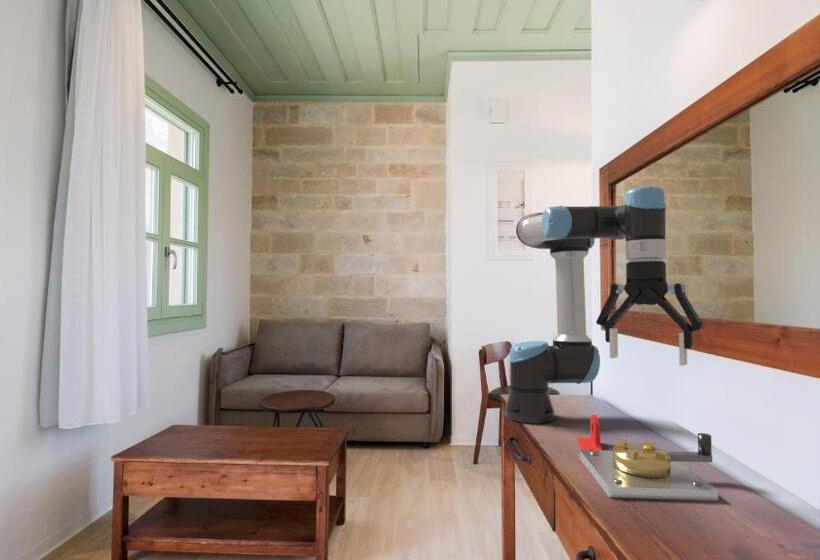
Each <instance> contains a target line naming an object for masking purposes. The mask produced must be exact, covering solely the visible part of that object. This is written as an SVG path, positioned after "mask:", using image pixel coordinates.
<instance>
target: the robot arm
mask: <svg viewBox="0 0 820 560" xmlns="http://www.w3.org/2000/svg"><path fill="white" fill-rule="evenodd" d="M624 197H625V198H624V204H623V205H602V206H601V205H599V206H597V205H596V206H595V205H594V206H591V205H590V206H589V205H588V206H563V205H557V206H549V207H547V208H545V209H544V211H543V212H537V213H536V212H534V213H530V214H526V215H524V216H523V217H521V218H520V220H519V221H518V222H517V225H516V228H515V234H516V236H517V237H516V238H517V239H518V240H519V242H520V243H522V244H523V245H524V246H527V247H529V248H531V249H539V250H549V255H550V256H551V258H552V259H554V260H555V261H554V262H555V266H554V267H555V293H556V294H555V295H556V297H555V298H556V322H557V323H556V327H557V328H556V329H557V335H556V336H554V338H553V339H552V345H549V343H548V342H547V341H544V340H532V341H524V342H519V343H516V344H513V345H512V346H511V348H510V351H509V383H510V384H509V395H508V397H507V401H506V403H505V406H504V407H505V408H504V417H505V418H506V419H508V420H511V421H514V422H517V423H518V422H519V423H523V424H546V423H550V422H552V421H553V422H554V420H555V417H556V416H555V415H556V413H555V408H554V405H553V403H552V400H551V397H550V393H549V384H577V385H579V384H580V385H581V384H588V383H591V382H593V381H594V380H595V379H596V377H597V376H598V374H599V372H600V368H601V367H600V365H601V356H600V353H599V352H600V351H599V349H598V347H597V346H595V345H594V344H592V343H593V342H592V339H591V338H590V337H589V336H588V335H587V317H586V316H587V315H586V293H585V292H586V288H585V287H586V285H585V266H584V265H585V264H584V263H585V262H584V261H585V260H584V259H585V258H586V257H587V256H588V255H589V250H590V249H592V248H593V247H594V245H595V242H596V241H595V240H596V239H608V240H625V257H626V260H628V261H629V262H627V263H626V264H625V269H626V270H625V274H626V275H625V279H626V283H625V284H619V283H612V284H611V285H610V292H609V294H608V295H609V296H608V297H607V299H606V301H605V303H604V305H603V307H602V309H601V311H600V313H599V315H598V317H597V319H596V324H597V325H599V326H602V327H604V330H605V333H604V334H605V337H604V338H605V342H606V343H609V359H615V358H619V350H618V349H619V343H618V341H619V335H618V333H619V332H618V330H619V328H618V327H615V325H616V324H617V323H618V322H620V320H621V319H622V318H623V316H624V315H625V314H626V313H627V312H628V311H629V310H630V309H631V308H632V307H633V306H634V305H638V306H639V305H648V306H654V305H655V306H656V305H658V306H659V307H660V308H662V310H663V311H664V312H665V313H666V314H667V315H668V316H669V317H670V319H672V320H673V321H674V323H676V325H677V326H678V327H679V328H680V329H681V330H682V331H681V332H678V353H679V359H678V360H679V361H678V362H679V366H682V367H684V366H686V365H688V350H691V349H692V348H693V346H694V343H693V342H694V341H693V337H694V336H693V333H694V332H696V331H700V330H702V329H703V328H704V323H703V322H702V321H701V319H700V317H699V315H698V314H697V312H696V310H695V309H694V307H693V305H692V304H691V302H690V300H689V298H688V296H687V295H686V291H685V285H684V284H683V283H681V282H680V283H678V282H677V283H675V284H668V283H667V263H666V262H665V261H663V260H664V259H666V258H667V253H666V252H667V251H666V250H667V249H666V247H667V246H666V244H667V243H666V207H667V205H666V201H665V199H666V198H665V190H664V189H663V188H662V187H659V186H641V187H635V188H631V189H629V190H627V191H626V193H625V196H624ZM624 291H625V292H624ZM669 291H670V292H671V294H672V295H675V298H676V300H677V301H678V303H679V305H680V307H681V308H682V310H683V312H684V313H685V315H686V317H687V318H688V320H686V319H685V318H684V317H683V316H682V314H680V312H679V311H678V310H677V309H676V308H675V307H674V306H673V305H672V304H671V302H670V301H669V300H668V299H667V297H665V296H666V295H667V293H668V292H669ZM623 292H624V293H626V294H627V297H626V298H625V299H624V300H623V303H622V304H621V305H620V306H619V307H618V308H617V309H616V311H615V312H614V313H613V314H612V315H611V316H610V314H611V313H612V311H613V309H614V306H615V305H616V303H617V301H618V299H619V297H620V295H622V294H623ZM688 321H689V322H690V323H691V324H690V323H689V322H688Z"/></svg>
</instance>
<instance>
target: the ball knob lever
mask: <svg viewBox="0 0 820 560" xmlns="http://www.w3.org/2000/svg"><path fill="white" fill-rule="evenodd" d="M712 448H713V447H712V435H711V434H708V433H704V432H699V433H697V451H665V450H663V449H661V448H658V447H656V441H652V440H650V439H649V440H646V441H644V442H643V444H642V443H641V444H640V443H628V442H627V441H625V440H621V439H616V440H615V441H614V446H613V448H612V451H613V464H614V466H615V467H617V468H618V469H620V470H622V471H624V472H627V473H630V474H634V475H638V476H644V477H663V476H667V475H669V474H670V473H671V461H679V462H681V463H683V462H684V463H686V462H689V463H713V454H712V452H713V451H712V450H713V449H712Z"/></svg>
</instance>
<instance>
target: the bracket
mask: <svg viewBox="0 0 820 560" xmlns="http://www.w3.org/2000/svg"><path fill="white" fill-rule="evenodd" d="M599 419H600V418H599V417H598V415H596V414H591V415H590V422H589V423H590V437H588V436H587V437H586V436H585V437H584V436H583V437H582V436H576V442H577V443H578V446H579V448H580V450H603V449H602V446H601V427H600V420H599Z"/></svg>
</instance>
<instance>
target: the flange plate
mask: <svg viewBox="0 0 820 560" xmlns="http://www.w3.org/2000/svg"><path fill="white" fill-rule="evenodd" d="M579 459H580V460H581V462H582V463H583V464H584V466H585V467H586V469H587V470H588V471H589V472H590V473H592V474H591V475H592V477H593V478H594V479H595V480H596V481H597V483H598V484H599V486H600V487H601V489H602V490H603V492H605V494H606V496H607V497H608V498H617V499H618V498H619V499H623V498H624V499H647V500H648V499H649V500H650V499H651V500H675V501H676V500H679V501H680V500H681V501H710V502H712V501H713V502H714V501H715V502H719V490H718V489H717V488H716V487H715V486H713V485H712V484H711V483H709V482H708V481H707V480H705V479H704V478H702V477H701V476H700V475H699V474H697V473H696V472H694V471H693V470H692V469H691V468H689V467H688V466H687V465H685V464H684V463H683V462H679V461H671V473H670V474H669V475H667V476H663V477H644V476H638V475H634V474H630V473H627V472H624V471H622V470H620V469H618V468H617V467H615V466H614V464H613V450H606V449H605V450H603V449H602V450H581V449H580V450H579Z"/></svg>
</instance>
